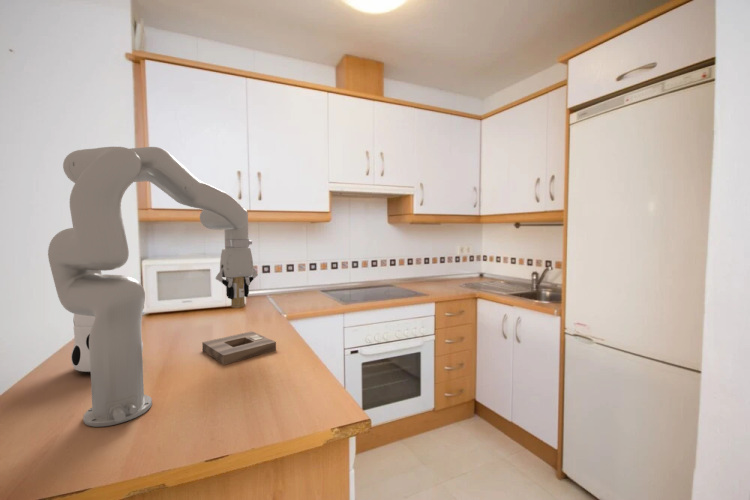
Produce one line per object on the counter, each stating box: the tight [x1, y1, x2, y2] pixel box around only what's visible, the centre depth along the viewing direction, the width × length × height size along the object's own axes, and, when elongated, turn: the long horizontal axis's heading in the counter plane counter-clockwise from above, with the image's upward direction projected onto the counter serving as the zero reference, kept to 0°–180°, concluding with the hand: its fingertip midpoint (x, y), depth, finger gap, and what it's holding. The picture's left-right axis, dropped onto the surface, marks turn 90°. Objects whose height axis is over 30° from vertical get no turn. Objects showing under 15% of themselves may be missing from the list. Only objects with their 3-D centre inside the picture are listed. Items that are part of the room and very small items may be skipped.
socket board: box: [201, 330, 277, 366], centre depth 119 cm, size 18×18×3 cm
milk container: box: [70, 313, 144, 374], centre depth 105 cm, size 17×17×18 cm
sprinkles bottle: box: [230, 273, 246, 308], centre depth 118 cm, size 5×5×13 cm
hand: (237, 296), depth 118 cm, fingers closed on sprinkles bottle, 4 cm apart
